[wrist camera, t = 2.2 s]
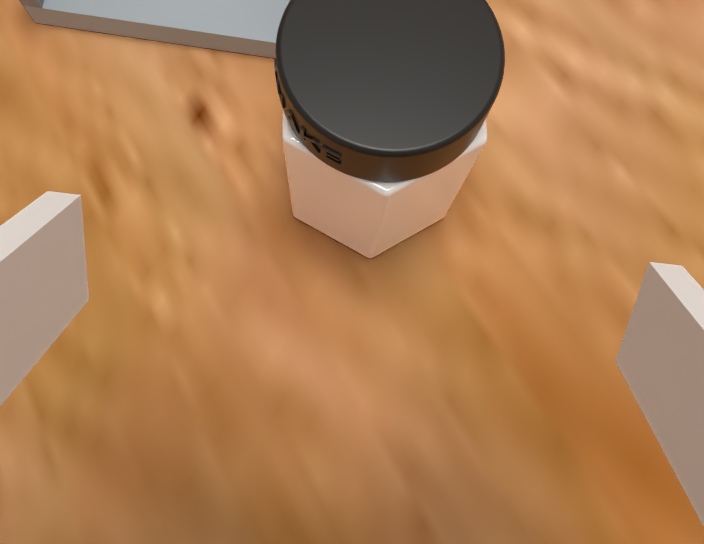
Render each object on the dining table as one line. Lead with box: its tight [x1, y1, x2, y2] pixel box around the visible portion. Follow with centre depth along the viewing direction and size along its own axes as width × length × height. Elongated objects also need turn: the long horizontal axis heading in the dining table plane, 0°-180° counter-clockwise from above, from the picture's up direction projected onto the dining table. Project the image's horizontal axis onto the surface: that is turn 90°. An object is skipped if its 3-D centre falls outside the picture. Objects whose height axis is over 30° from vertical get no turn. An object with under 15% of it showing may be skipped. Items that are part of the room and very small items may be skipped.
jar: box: [275, 0, 505, 258], centre depth 29 cm, size 9×8×12 cm
